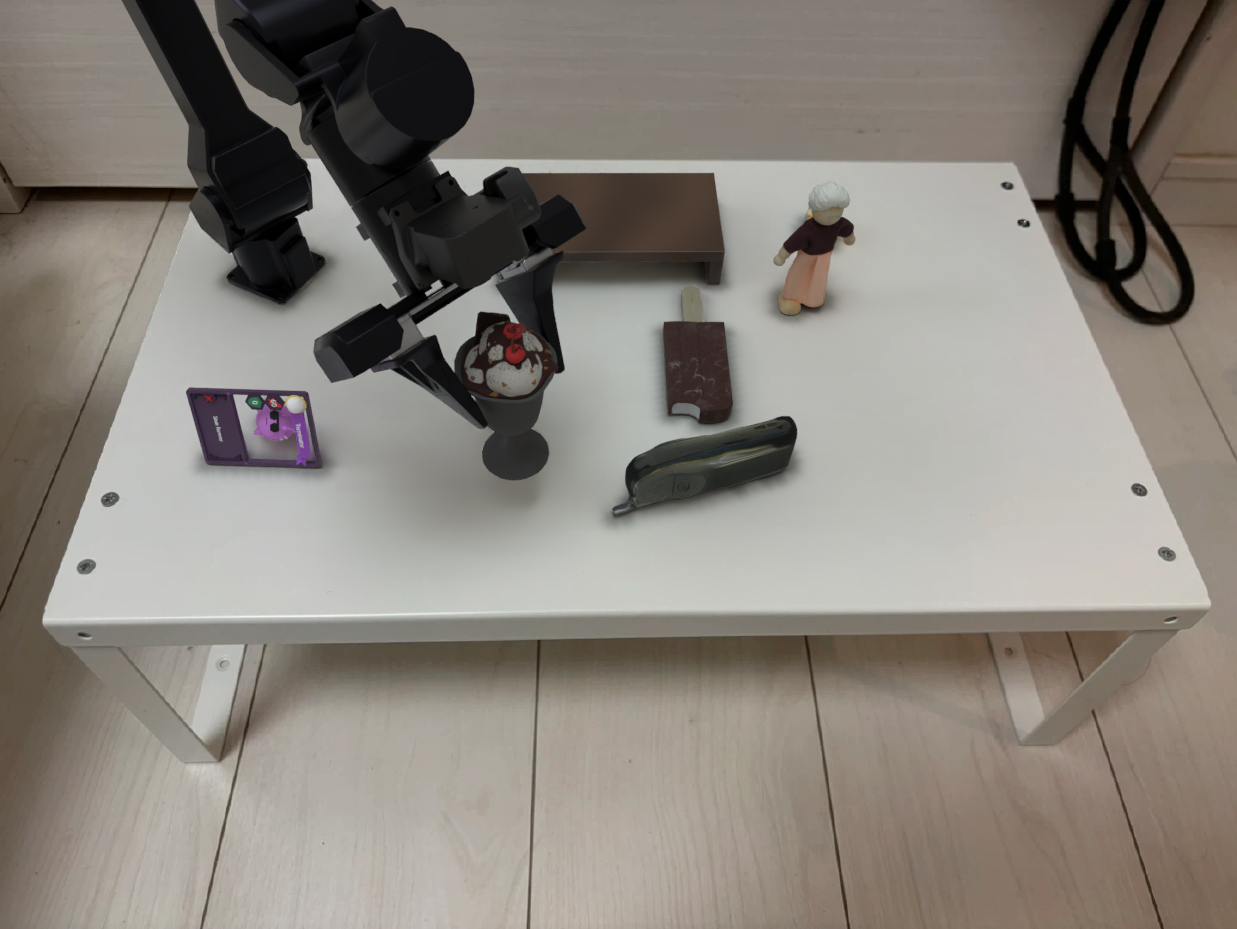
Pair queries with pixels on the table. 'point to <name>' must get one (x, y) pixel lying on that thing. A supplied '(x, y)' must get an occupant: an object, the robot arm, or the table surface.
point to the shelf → (640, 217)
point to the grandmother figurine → (814, 248)
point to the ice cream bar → (697, 364)
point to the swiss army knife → (709, 462)
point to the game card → (273, 422)
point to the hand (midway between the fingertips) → (522, 399)
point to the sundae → (508, 391)
